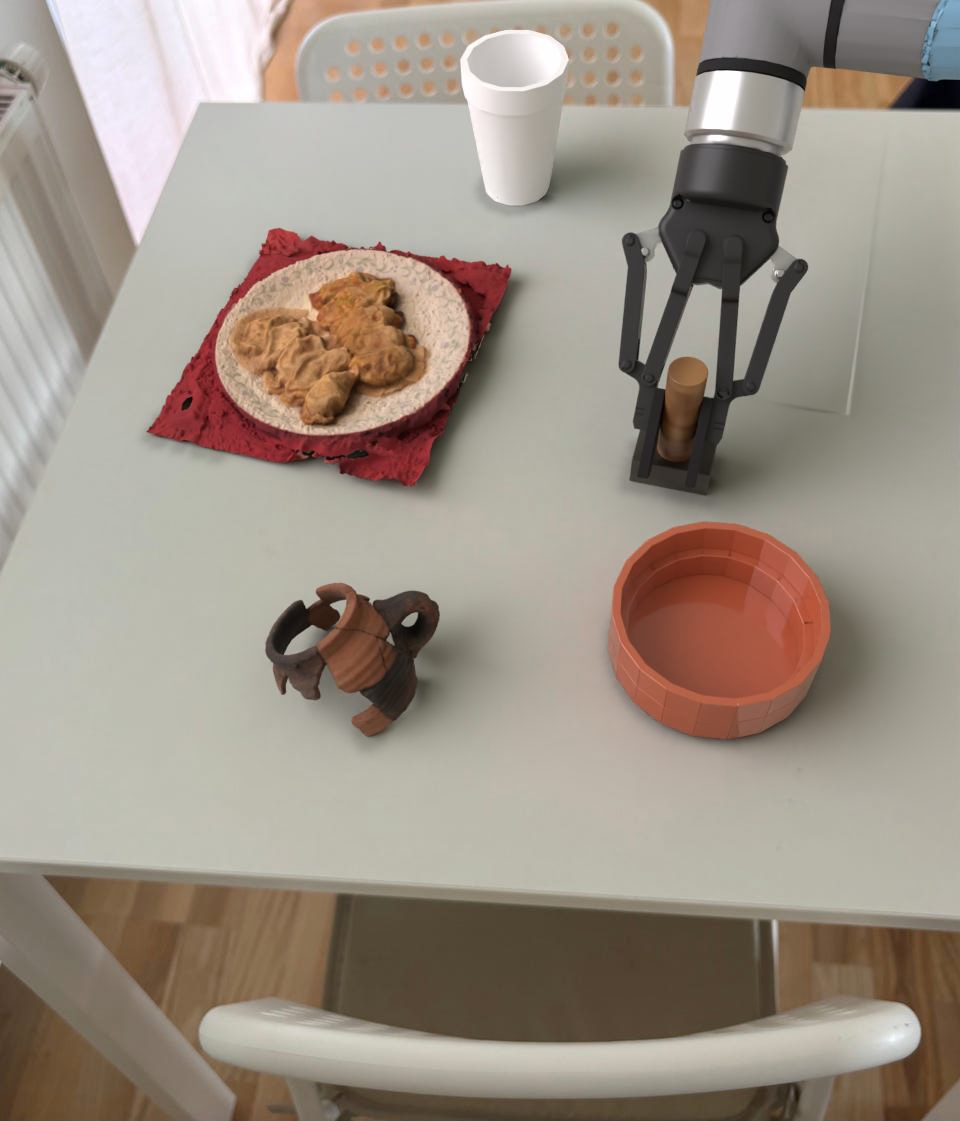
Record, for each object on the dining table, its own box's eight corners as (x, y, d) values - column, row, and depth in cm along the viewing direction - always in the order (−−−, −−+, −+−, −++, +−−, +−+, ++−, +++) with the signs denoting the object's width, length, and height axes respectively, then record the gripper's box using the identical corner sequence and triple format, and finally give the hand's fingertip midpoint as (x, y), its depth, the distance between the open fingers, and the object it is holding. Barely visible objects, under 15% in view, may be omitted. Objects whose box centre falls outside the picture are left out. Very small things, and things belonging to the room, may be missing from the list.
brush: (714, 456, 87) (735, 358, 78) (705, 495, 85) (726, 399, 76) (639, 442, 88) (651, 343, 79) (629, 480, 86) (640, 383, 77)
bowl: (809, 573, 81) (825, 529, 76) (817, 752, 73) (836, 715, 68) (614, 558, 82) (618, 514, 78) (602, 731, 74) (606, 694, 70)
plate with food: (514, 283, 100) (513, 252, 97) (416, 495, 86) (412, 466, 83) (275, 240, 105) (267, 210, 102) (146, 433, 91) (134, 404, 88)
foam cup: (584, 191, 106) (589, 65, 95) (505, 229, 103) (501, 105, 93) (527, 142, 111) (525, 17, 100) (450, 178, 108) (440, 54, 97)
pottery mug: (337, 773, 74) (266, 695, 69) (308, 698, 82) (243, 624, 77) (483, 669, 74) (422, 585, 70) (440, 604, 82) (383, 526, 78)
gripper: (847, 176, 79) (773, 495, 84) (628, 145, 82) (570, 455, 87) (857, 157, 72) (776, 508, 77) (618, 124, 75) (554, 464, 80)
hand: (667, 479), depth 82 cm, fingers closed on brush, 3 cm apart
